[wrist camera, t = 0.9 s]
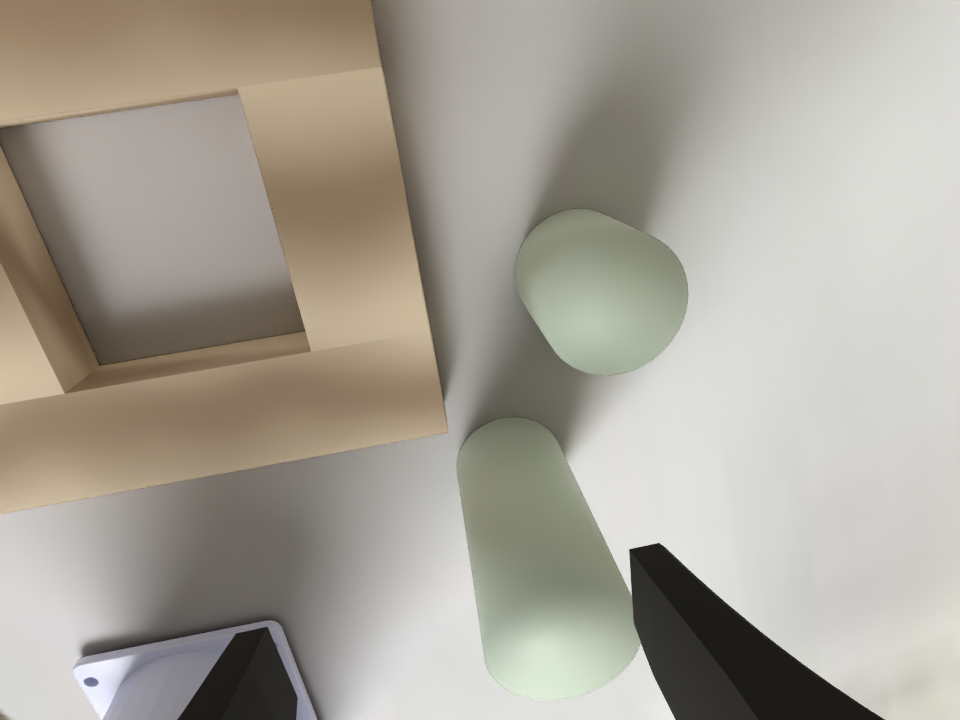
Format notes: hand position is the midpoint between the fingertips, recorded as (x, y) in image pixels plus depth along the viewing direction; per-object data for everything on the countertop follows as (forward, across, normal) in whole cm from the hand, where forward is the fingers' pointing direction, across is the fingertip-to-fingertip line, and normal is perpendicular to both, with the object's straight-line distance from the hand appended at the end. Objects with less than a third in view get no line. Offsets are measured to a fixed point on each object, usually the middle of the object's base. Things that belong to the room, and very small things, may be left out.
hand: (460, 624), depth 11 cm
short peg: (+10, -5, -4) cm, 12 cm away
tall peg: (+10, -2, +3) cm, 10 cm away
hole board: (+10, +7, -7) cm, 14 cm away
